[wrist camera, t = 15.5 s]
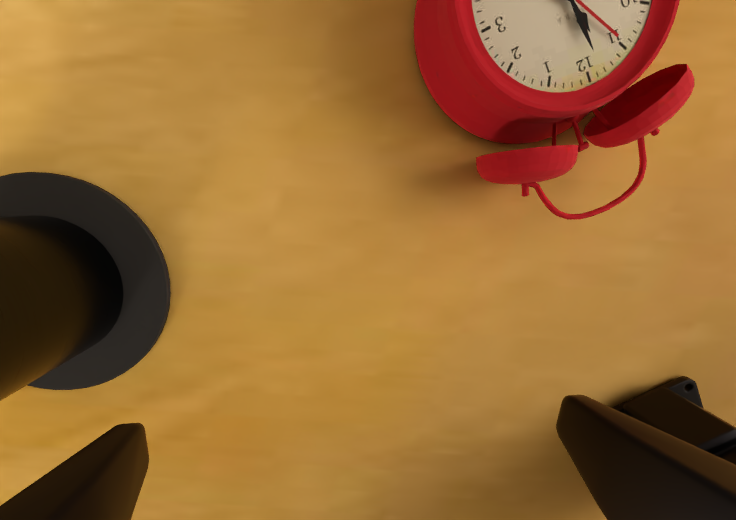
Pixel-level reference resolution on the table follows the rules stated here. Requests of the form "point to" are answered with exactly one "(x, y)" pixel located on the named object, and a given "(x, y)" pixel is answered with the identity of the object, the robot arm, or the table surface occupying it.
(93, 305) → the labeled black canister
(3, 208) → the base
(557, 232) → the table surface
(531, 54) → the alarm clock
